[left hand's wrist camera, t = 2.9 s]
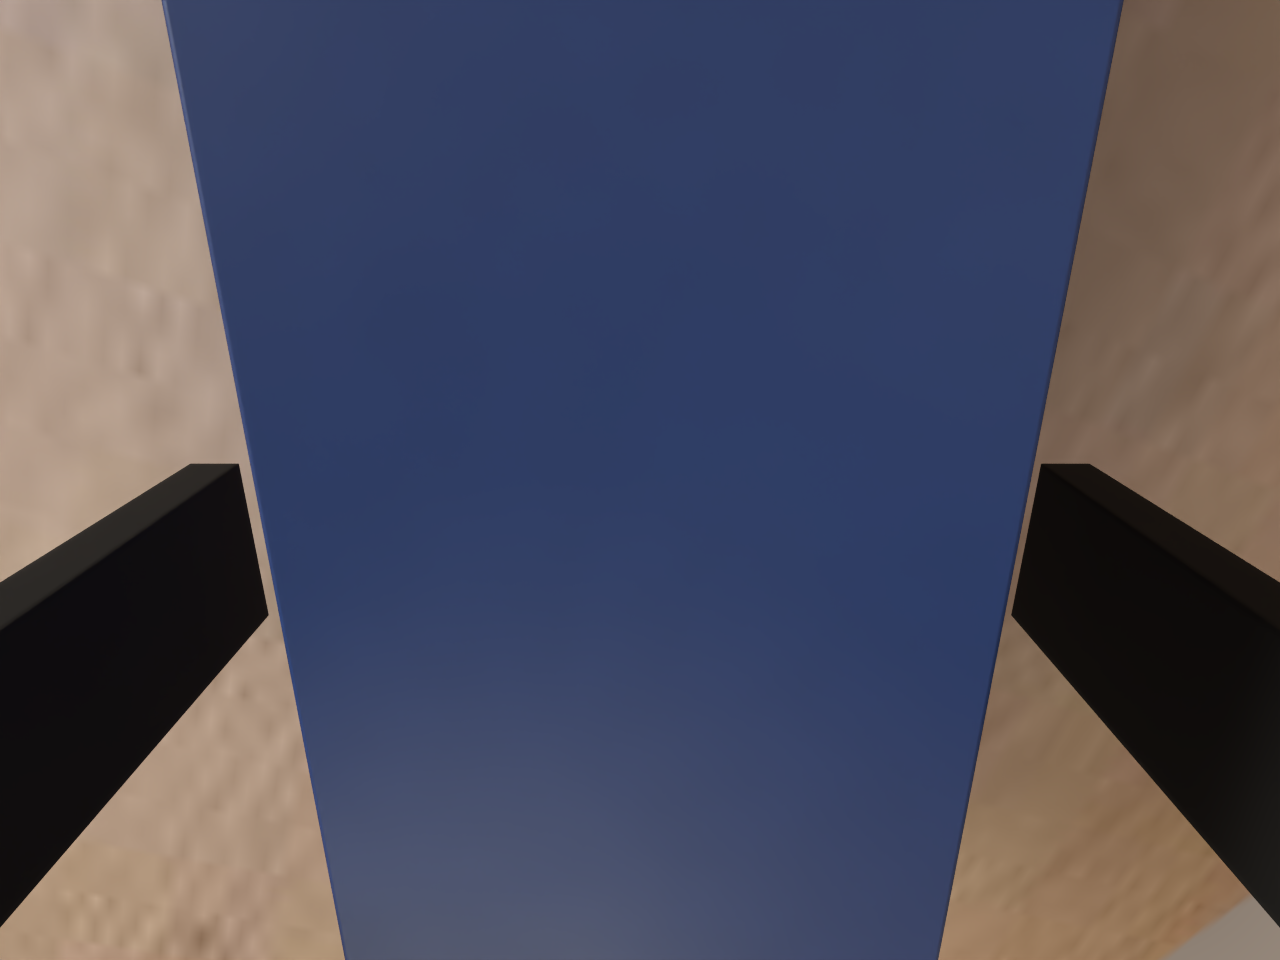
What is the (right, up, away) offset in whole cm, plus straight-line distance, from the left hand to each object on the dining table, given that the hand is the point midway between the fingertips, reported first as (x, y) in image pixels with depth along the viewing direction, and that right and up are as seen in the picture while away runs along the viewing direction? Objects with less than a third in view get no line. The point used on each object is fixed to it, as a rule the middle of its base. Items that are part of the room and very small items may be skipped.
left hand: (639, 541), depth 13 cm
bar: (0, +8, 0) cm, 8 cm away
